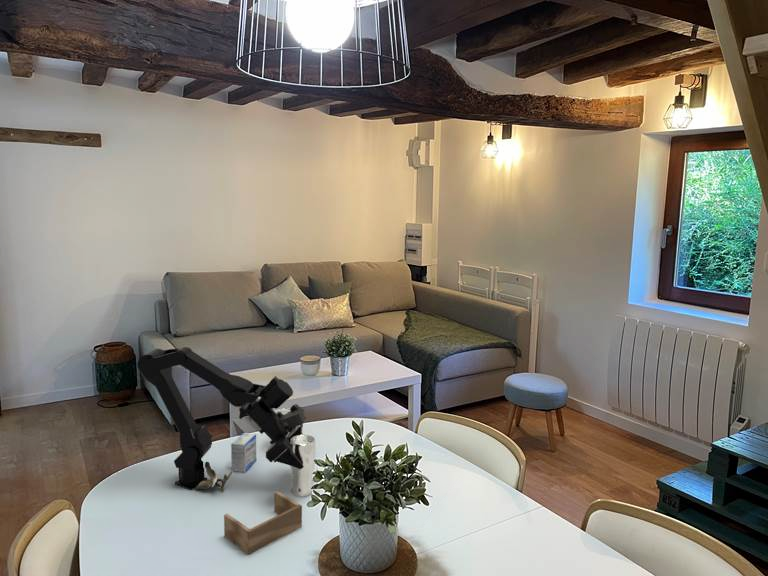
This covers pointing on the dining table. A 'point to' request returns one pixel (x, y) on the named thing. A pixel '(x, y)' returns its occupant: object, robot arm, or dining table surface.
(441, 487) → the dining table surface
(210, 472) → the eagle figurine
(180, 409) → the robot arm
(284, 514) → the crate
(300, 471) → the beer glass
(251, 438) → the medicine box
